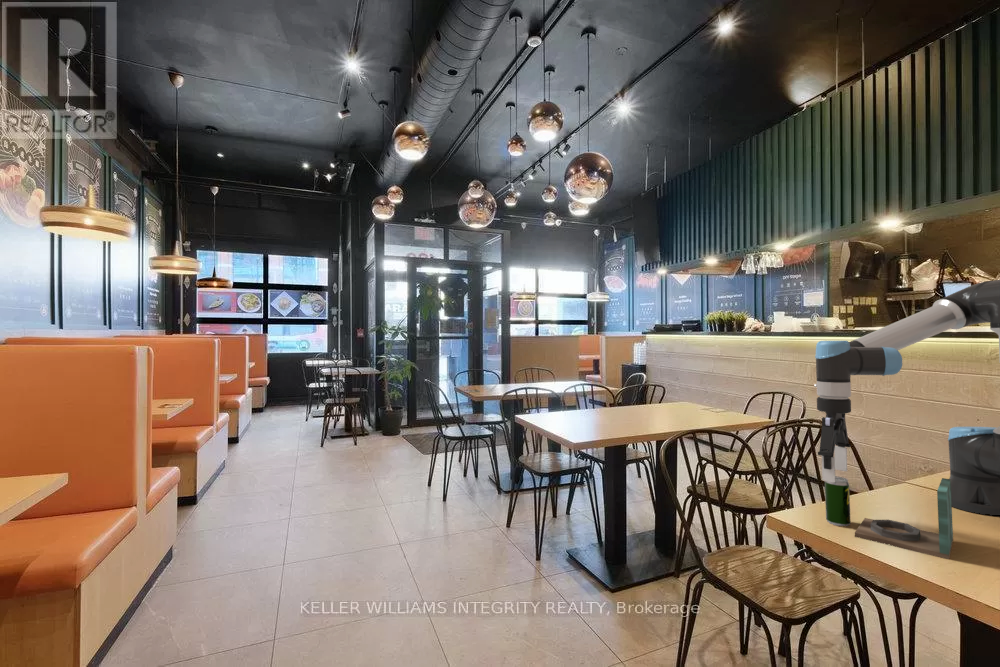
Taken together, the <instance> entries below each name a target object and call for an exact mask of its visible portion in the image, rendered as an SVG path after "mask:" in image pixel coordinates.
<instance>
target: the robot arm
mask: <svg viewBox="0 0 1000 667" xmlns="http://www.w3.org/2000/svg"><path fill="white" fill-rule="evenodd" d="M985 323H988V324H990V325H989V327H990V328H989V329H990V330H991V331H992V332H994V333H995V334H996V335H997V336H998V349H999V350H998V352H999V354H998V355H999V362H1000V279H997V280H987V281H982V282H978V283H976V284H972V285H970V286H967V287H965V288H962V289H961V290H958V291H956V292H953V293H951V294H949V295H946V296H944V297H941V298H940V299H938V300H935V302H933V304H932V306H930V307H928V308H926V309H923V310H921V311H919V312H916V313H913V314H911V315H909V316H907V317H905V318H902V319H899V320H898V321H895V322H892V323H890V324H888V325H885V326H884V327H882V328H879V329H877V330H874V331H872V332H869V333H867V334H865V335H863V336H860V337H858V338H855V339H853V340H851V341H848V340H819V341H818V342H817V343H816V346H815V372H816V374H815V377H816V383H814V385H813V386H814V387H815V388H816V395H817V398H816V410H817V411H819V412H821V413H825V416H823V417H822V418H821V434H820V442H819V443H820V444H819V451H817V455H818V456H821V477H822V478H821V480H822V481H824V482H825V481H830V482H835V476H836V471H840V472H848V448H851V443H849V442H850V441H849V437H848V436H849V435H848V430H847V423H846V414H850V413H851V412H852V399H850V397H852V386H851V385H852V383H851V381H852V380H851V378H852V377H851V376H883V377H885V376H890V375H891V376H892V375H893V376H894V375H897V374H898V373H900V371H901V370H902V367H903V355H901V352H900V350H902V349H905V348H907V347H910V346H911V345H912V346H913V345H914V344H916V343H919V342H921V341H924V340H926V339H928V338H931V337H933V336H936V335H939V334H941V333H943V332H946V331H948V330H960V329H963V328H965V327H967V326H972V325H977V324H985ZM947 441H948V455H949V457H948V458H949V473H950V475H949V478H948V479H951V501H952V508H955V509H958V510H962V511H965V512H969V513H974V512H975V514H979V513H980V514H979V515H985V514H990V515H989V516H992V515H1000V425H999V426H997V427H994V426H993V427H992V426H952V427H951V428H950V429H949V431H948V438H947Z"/></svg>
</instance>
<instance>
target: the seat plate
mask: <svg viewBox="0 0 1000 667" xmlns="http://www.w3.org/2000/svg"><path fill="white" fill-rule="evenodd" d="M936 492H937V493H936V495H937V496H936V497H937V519H938V533H937V532H932V531H927V530H924V529H919V528H917V527H915V526H912V524H909V523H906V522H901V521H897V520H891V519H872V518H867V517H864V519H863V520H862V521H861V523H860V525H858V527H857V528H856V530H855V531H854V537H855V538H859V537H860V538H859V539H864V540H868V541H871V540H872V541H873V542H875V541H877V542H876V543H879V542H880V543H881V544H884V543H885V544H884V545H888V544H890V545H889V546H892V545H893V546H892V547H896V546H897V548H901V549H904V550H910V551H913V552H917V553H921V554H926V555H930V556H933V557H938V558H941V559H942V558H943V559H946V560H949V559H950V557H951V552H952V547H953V543H954V530H953V528H954V527H953V507H952V501H951V479H949V478H944V477H942V478H941V480H940V482H939V484H938V488H937V490H936ZM872 541H871V542H872Z"/></svg>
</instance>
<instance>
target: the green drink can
mask: <svg viewBox="0 0 1000 667" xmlns="http://www.w3.org/2000/svg"><path fill="white" fill-rule="evenodd" d="M824 497H825V499H824V500H825V501H824V502H825V520H826V522H827V523H828V522H829V524H831V525H832V524H833V526H836V527H842V526H846V527H849V526H850V525H851V502H850V483H849V479H848V478H846V477H843V476H837V475H835V482H830V481H824Z"/></svg>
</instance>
